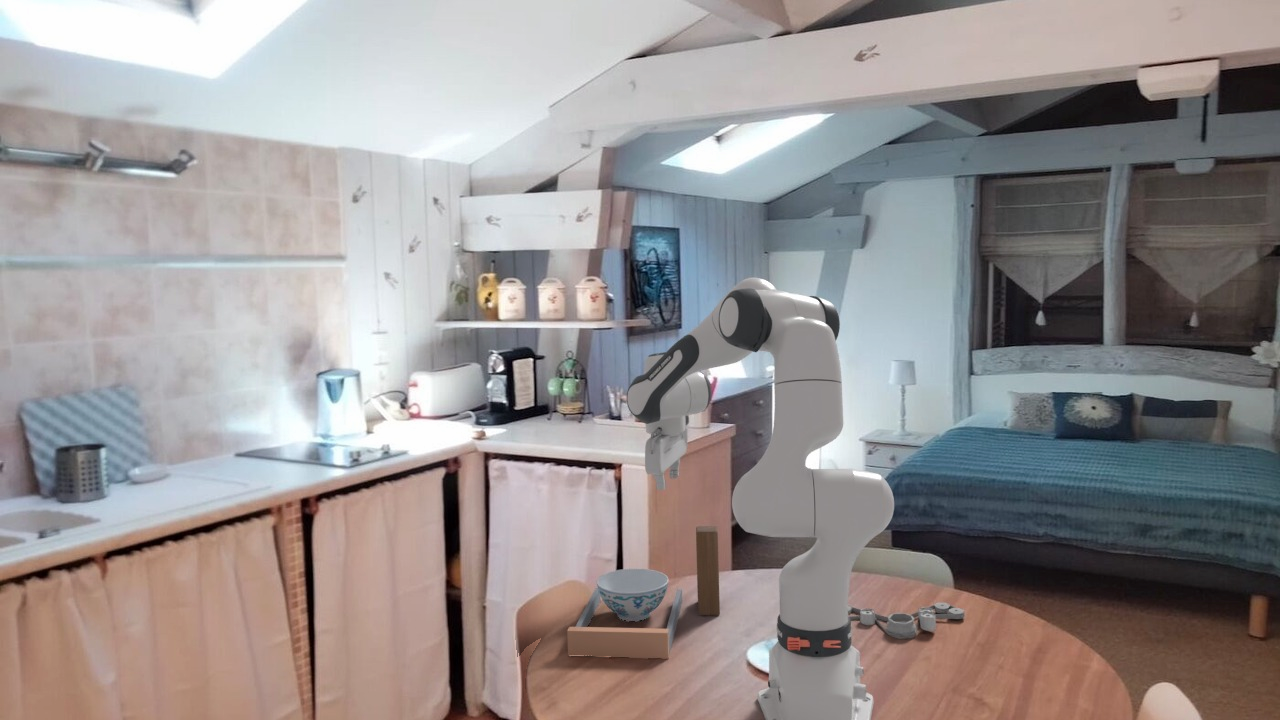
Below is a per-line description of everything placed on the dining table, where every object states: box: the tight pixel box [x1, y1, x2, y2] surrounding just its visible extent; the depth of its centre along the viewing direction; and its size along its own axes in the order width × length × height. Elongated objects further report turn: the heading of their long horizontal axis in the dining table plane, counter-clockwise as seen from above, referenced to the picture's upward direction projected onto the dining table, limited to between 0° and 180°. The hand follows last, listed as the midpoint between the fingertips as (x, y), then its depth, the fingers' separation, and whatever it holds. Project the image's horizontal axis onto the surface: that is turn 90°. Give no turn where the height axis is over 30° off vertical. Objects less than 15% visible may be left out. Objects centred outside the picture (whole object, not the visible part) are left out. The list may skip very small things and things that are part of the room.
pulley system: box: [848, 602, 966, 640], centre depth 182 cm, size 27×5×15 cm
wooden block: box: [695, 525, 721, 616], centre depth 193 cm, size 9×4×18 cm, turn 176°
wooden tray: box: [566, 587, 683, 660], centre depth 184 cm, size 29×19×5 cm, turn 172°
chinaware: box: [596, 568, 669, 622], centre depth 191 cm, size 15×15×8 cm
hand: (667, 483), depth 205 cm, fingers open, 8 cm apart
